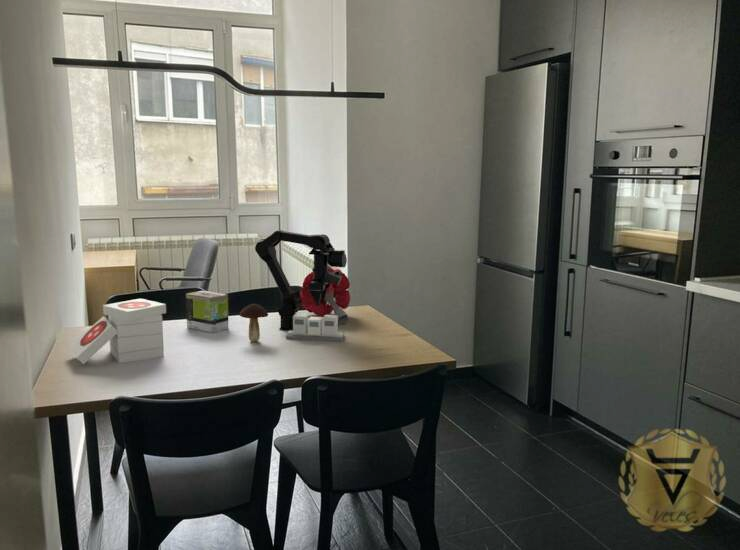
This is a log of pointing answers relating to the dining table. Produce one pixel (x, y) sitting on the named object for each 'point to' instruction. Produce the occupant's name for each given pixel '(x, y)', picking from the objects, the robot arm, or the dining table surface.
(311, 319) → the block
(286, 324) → the robot arm
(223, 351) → the dining table surface
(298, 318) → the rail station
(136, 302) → the pizza boxes
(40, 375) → the dining table surface
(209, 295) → the tea box
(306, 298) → the bouquet
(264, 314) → the decorative mushroom
